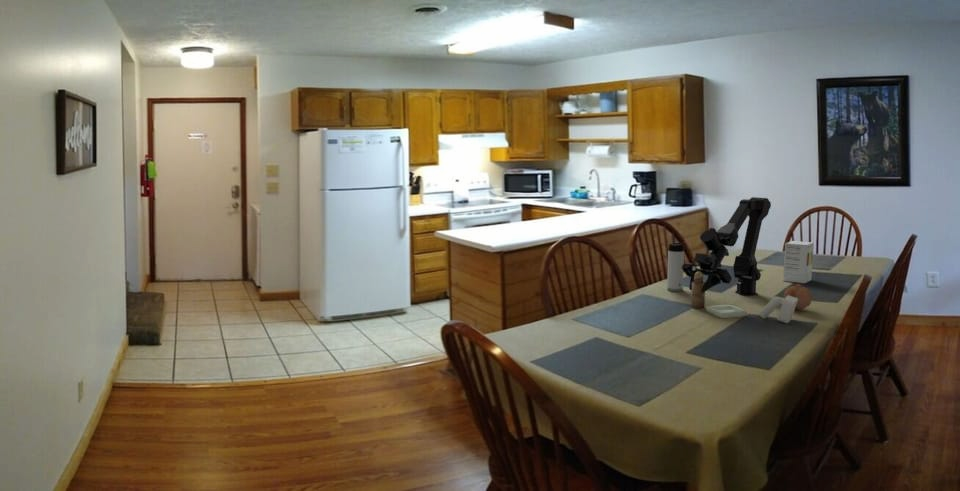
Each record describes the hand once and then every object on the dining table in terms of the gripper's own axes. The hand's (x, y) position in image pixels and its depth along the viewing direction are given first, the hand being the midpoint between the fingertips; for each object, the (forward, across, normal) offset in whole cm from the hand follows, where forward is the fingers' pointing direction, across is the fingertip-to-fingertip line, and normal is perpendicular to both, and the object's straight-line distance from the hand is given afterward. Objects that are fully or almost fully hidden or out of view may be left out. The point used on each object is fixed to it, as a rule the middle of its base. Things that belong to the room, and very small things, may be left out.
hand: (696, 290), depth 256 cm
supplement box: (-46, +1, +56) cm, 73 cm away
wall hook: (0, +28, +10) cm, 30 cm away
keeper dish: (+4, +12, +6) cm, 14 cm away
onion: (-12, +26, +22) cm, 36 cm away
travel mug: (-8, -23, +18) cm, 30 cm away
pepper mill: (+4, 0, +6) cm, 7 cm away
